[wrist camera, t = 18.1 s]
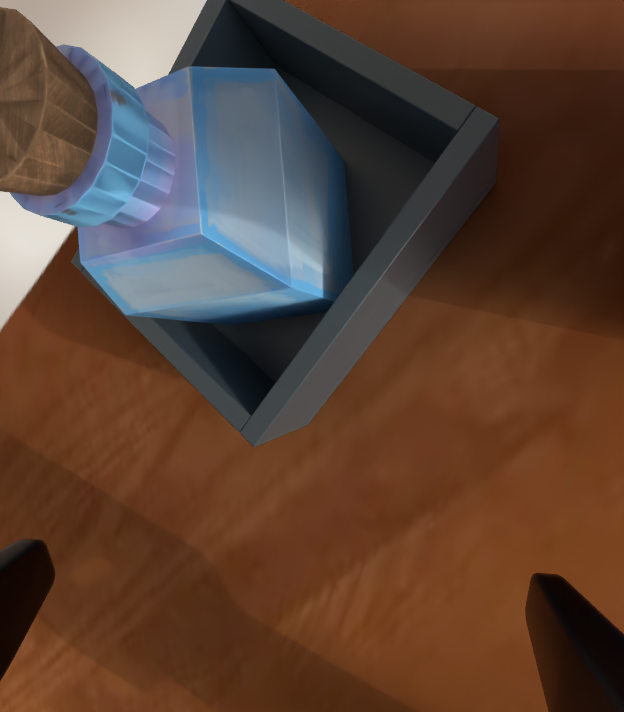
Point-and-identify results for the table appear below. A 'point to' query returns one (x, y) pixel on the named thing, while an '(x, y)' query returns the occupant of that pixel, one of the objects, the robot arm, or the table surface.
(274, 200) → the perfume bottle
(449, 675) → the table surface
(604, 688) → the robot arm
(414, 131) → the open square box
